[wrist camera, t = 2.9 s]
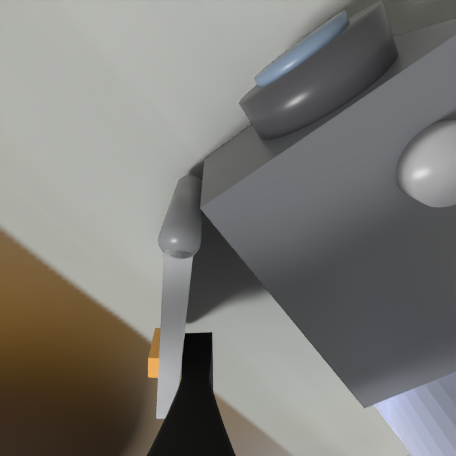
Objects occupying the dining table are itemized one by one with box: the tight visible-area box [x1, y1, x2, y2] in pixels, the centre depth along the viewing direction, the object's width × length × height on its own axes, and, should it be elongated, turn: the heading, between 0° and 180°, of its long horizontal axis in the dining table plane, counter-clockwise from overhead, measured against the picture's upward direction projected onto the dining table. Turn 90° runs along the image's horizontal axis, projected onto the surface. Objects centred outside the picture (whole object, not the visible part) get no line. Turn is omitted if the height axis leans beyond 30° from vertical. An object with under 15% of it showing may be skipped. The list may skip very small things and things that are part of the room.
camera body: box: [200, 0, 456, 408], centre depth 8 cm, size 11×6×5 cm, turn 34°
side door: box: [148, 175, 203, 419], centre depth 9 cm, size 8×1×4 cm, turn 171°
